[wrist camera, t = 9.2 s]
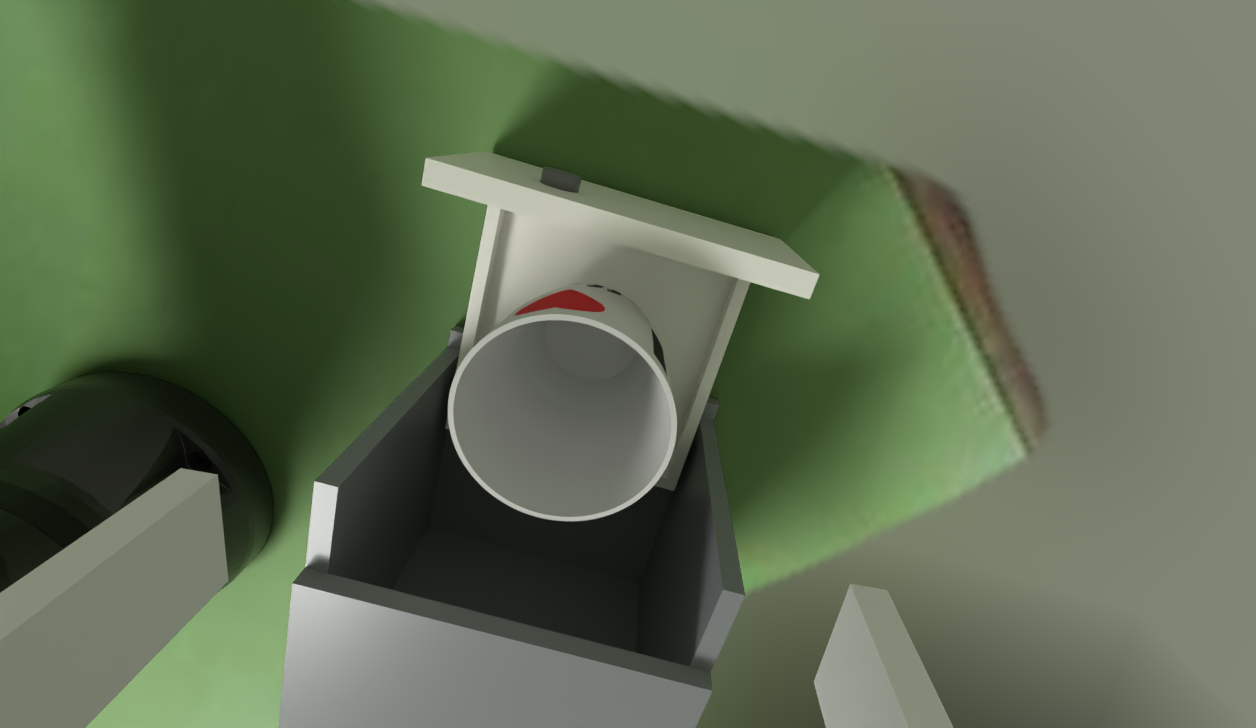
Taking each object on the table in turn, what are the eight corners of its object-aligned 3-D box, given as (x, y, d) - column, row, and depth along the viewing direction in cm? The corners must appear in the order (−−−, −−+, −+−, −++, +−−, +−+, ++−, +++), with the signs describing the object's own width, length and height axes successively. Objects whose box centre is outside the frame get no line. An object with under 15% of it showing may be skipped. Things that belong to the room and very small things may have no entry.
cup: (701, 303, 30) (720, 382, 20) (626, 433, 32) (612, 554, 23) (553, 225, 29) (501, 271, 19) (488, 365, 31) (415, 464, 22)
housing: (648, 586, 39) (641, 845, 25) (418, 526, 38) (275, 757, 24) (718, 399, 34) (758, 589, 20) (455, 325, 33) (303, 468, 19)
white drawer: (693, 471, 35) (701, 563, 27) (439, 401, 34) (377, 476, 27) (784, 227, 30) (825, 259, 22) (488, 138, 29) (428, 140, 22)
